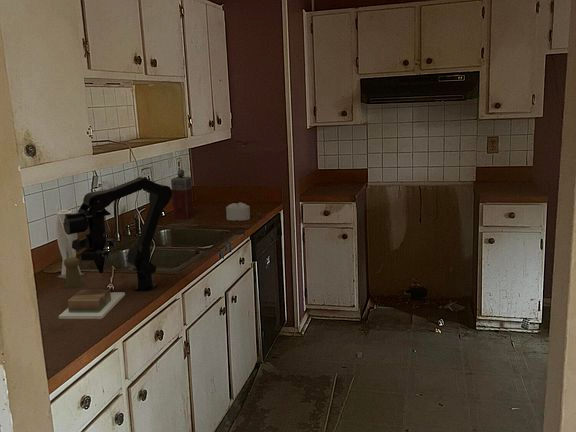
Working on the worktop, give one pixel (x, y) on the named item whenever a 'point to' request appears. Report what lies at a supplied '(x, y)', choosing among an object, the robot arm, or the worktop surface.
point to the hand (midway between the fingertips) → (101, 272)
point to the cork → (72, 273)
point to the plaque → (89, 301)
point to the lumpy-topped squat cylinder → (238, 211)
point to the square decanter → (182, 196)
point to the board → (114, 300)
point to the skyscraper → (65, 240)
